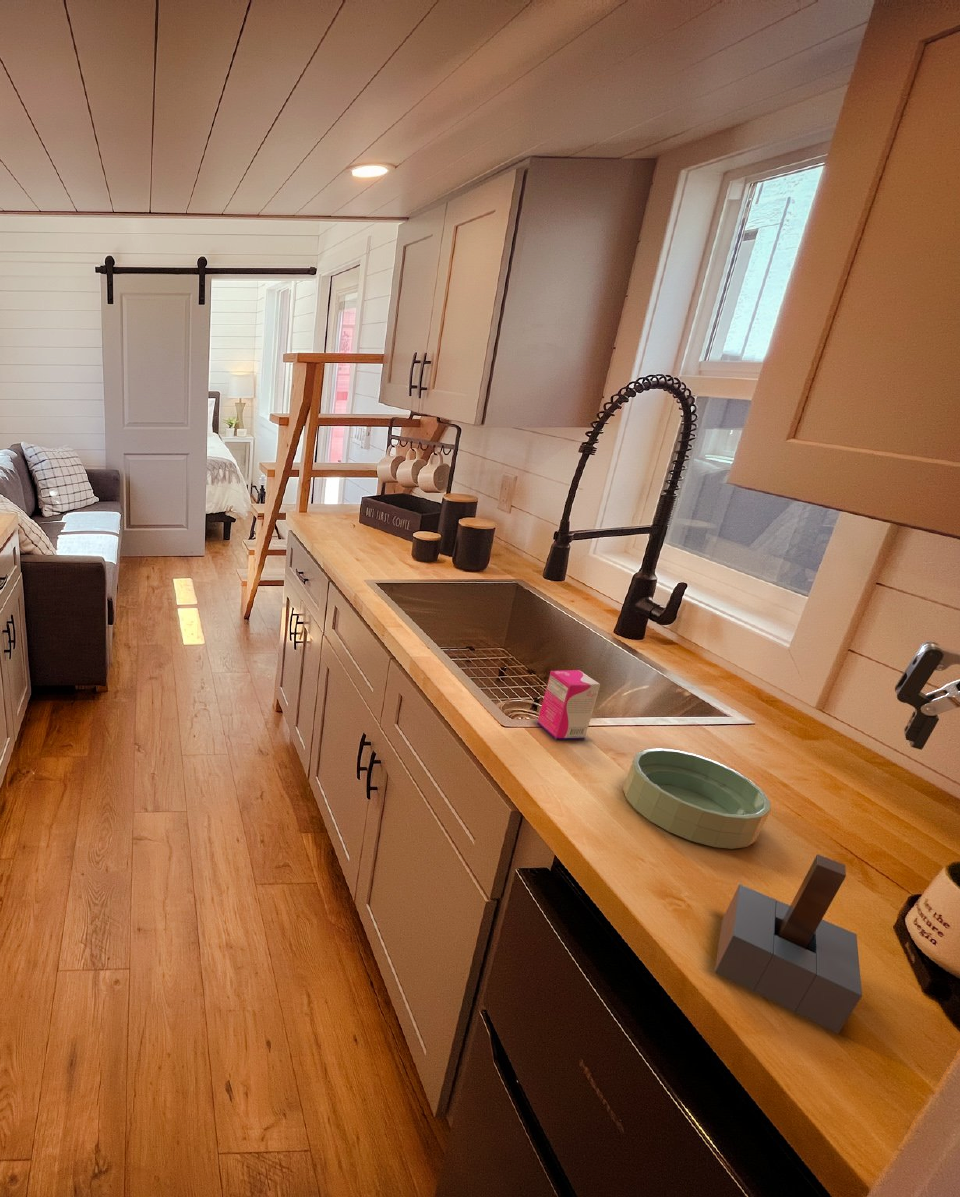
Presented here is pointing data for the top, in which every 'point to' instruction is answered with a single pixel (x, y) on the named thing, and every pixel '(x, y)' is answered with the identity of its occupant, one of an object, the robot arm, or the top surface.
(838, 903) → the top surface
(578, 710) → the supplement box
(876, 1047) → the top surface
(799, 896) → the rectangular peg
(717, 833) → the bowl
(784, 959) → the holder
